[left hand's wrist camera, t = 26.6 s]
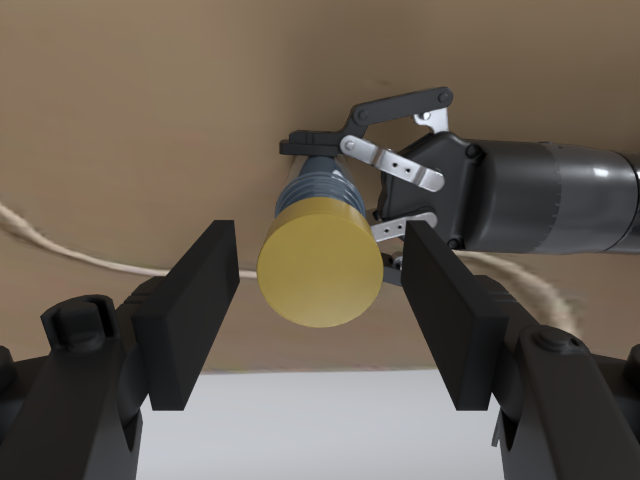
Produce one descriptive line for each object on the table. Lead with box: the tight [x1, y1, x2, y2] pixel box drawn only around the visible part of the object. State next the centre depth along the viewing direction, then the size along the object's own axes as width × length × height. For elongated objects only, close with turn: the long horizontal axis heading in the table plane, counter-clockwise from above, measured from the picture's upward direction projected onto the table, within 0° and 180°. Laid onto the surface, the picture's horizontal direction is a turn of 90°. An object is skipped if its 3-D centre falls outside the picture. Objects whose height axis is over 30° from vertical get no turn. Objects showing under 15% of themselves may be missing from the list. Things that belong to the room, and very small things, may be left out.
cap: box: [257, 197, 384, 328], centre depth 13 cm, size 4×4×2 cm
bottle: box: [275, 154, 366, 219], centre depth 22 cm, size 5×5×18 cm
